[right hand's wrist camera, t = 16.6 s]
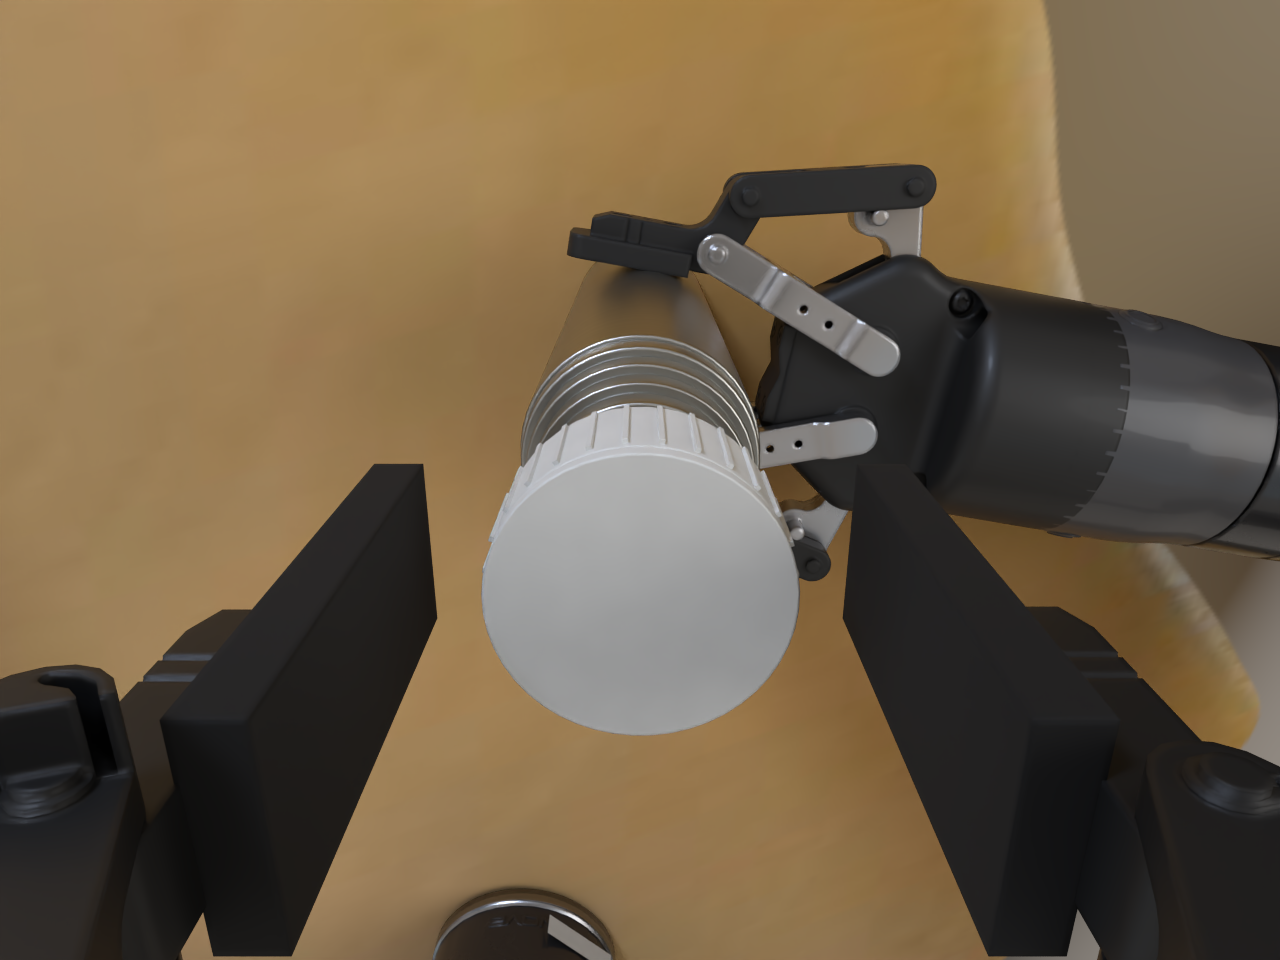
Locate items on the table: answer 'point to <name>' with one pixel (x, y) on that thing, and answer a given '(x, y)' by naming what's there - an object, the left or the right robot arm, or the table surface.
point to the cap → (640, 573)
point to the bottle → (640, 358)
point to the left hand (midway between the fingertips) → (560, 329)
